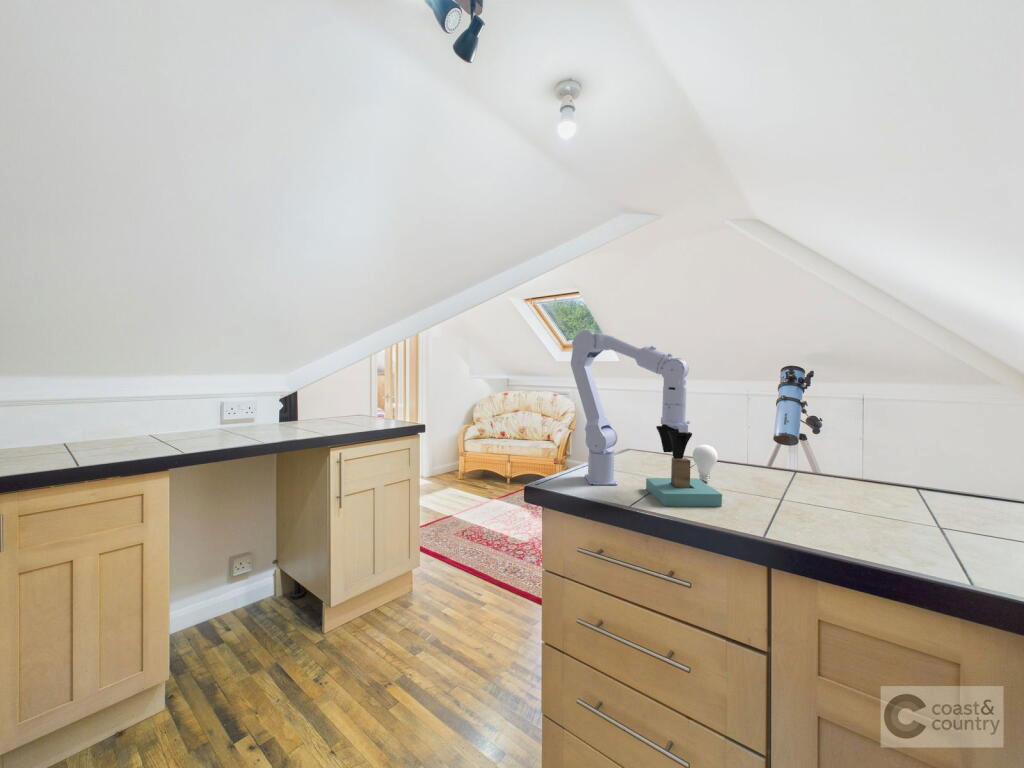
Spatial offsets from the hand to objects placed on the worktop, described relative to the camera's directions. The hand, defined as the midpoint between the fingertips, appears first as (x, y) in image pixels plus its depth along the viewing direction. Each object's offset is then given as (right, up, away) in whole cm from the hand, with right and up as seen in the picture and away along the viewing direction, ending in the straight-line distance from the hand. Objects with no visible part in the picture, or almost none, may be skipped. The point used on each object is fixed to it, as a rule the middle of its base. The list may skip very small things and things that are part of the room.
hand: (672, 455), depth 111 cm
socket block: (+1, -10, -2) cm, 11 cm away
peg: (+1, -10, -2) cm, 11 cm away
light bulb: (+14, -10, +11) cm, 20 cm away
